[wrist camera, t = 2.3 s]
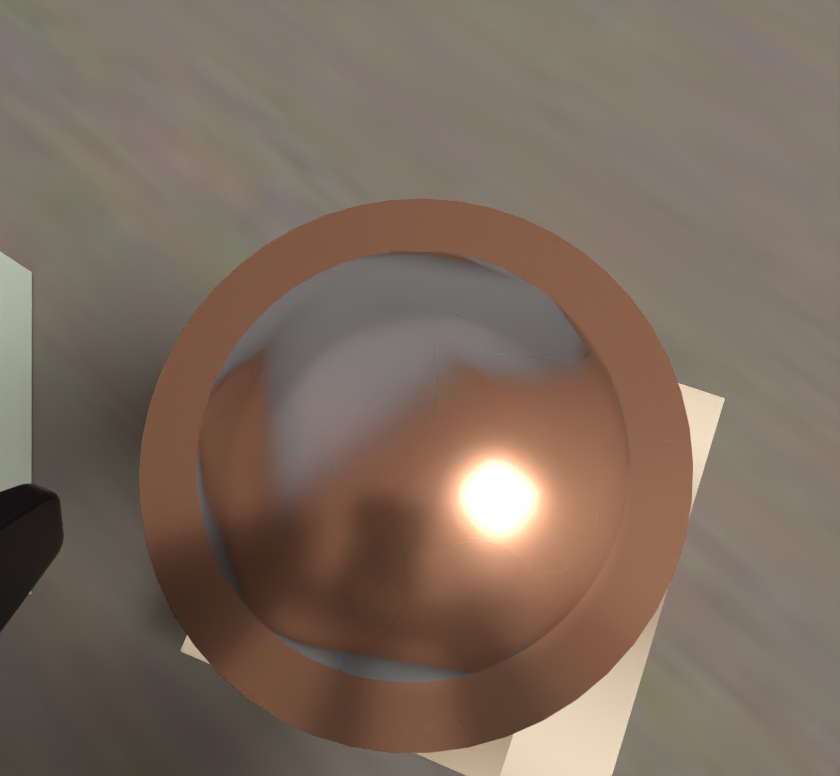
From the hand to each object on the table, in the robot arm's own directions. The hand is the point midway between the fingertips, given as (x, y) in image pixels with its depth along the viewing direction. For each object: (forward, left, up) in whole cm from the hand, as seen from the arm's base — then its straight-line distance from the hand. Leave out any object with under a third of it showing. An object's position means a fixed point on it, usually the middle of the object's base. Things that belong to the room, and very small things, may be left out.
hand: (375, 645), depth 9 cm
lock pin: (+2, +1, -10) cm, 10 cm away
